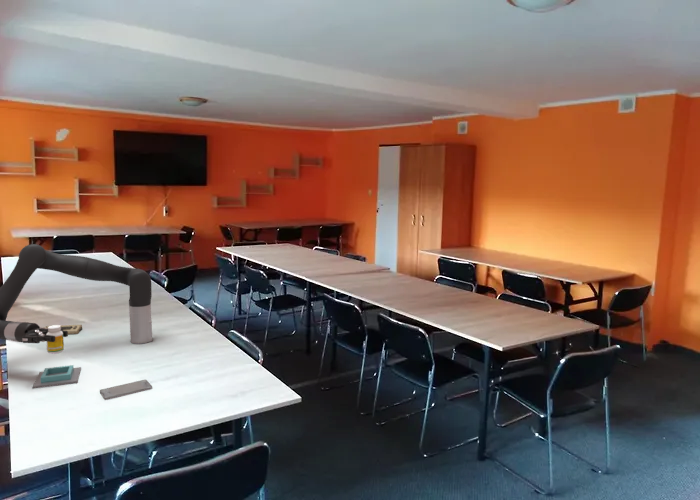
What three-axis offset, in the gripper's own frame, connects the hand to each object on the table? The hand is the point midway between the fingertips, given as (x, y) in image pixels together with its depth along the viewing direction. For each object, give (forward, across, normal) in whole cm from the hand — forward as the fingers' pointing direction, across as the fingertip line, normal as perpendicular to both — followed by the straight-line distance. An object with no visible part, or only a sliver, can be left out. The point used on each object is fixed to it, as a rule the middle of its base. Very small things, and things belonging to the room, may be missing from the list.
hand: (60, 336), depth 181 cm
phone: (+29, -2, +17) cm, 33 cm away
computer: (-42, +46, +18) cm, 64 cm away
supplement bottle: (-3, 0, +6) cm, 7 cm away
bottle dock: (-2, 0, +17) cm, 17 cm away
